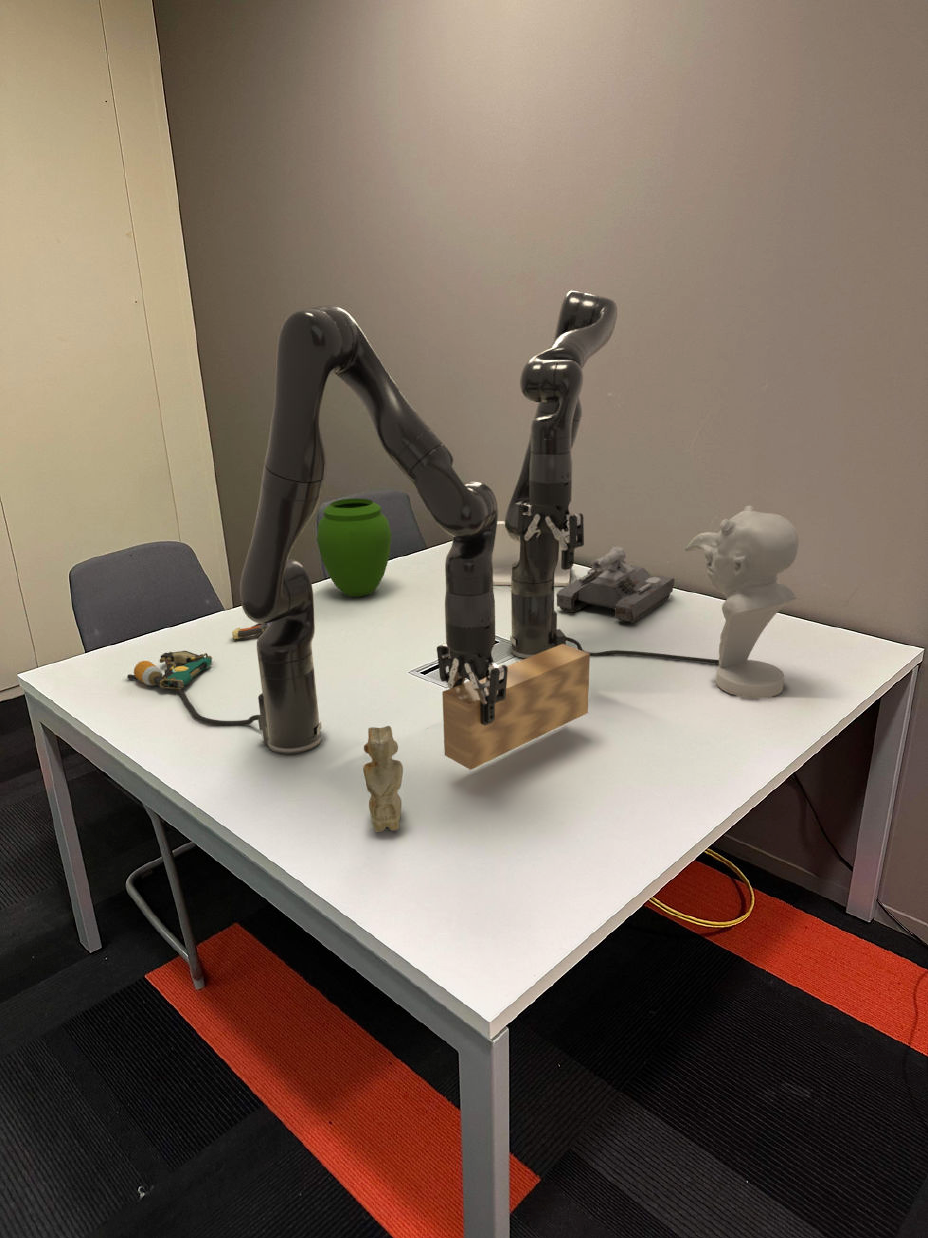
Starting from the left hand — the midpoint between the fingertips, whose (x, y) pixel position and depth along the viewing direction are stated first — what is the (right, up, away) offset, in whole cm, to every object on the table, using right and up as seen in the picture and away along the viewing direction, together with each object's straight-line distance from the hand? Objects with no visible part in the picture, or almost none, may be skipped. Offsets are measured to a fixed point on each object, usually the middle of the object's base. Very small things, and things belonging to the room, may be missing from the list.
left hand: (472, 715), depth 134 cm
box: (+8, -4, +9) cm, 13 cm away
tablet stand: (+16, +27, +105) cm, 109 cm away
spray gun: (-62, +3, +46) cm, 78 cm away
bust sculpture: (+52, +3, +37) cm, 64 cm away
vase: (-30, +22, +95) cm, 102 cm away
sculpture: (-13, -15, -6) cm, 21 cm away
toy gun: (-49, +13, +72) cm, 88 cm away
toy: (+37, +19, +80) cm, 90 cm away
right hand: (+14, +25, +23) cm, 37 cm away
